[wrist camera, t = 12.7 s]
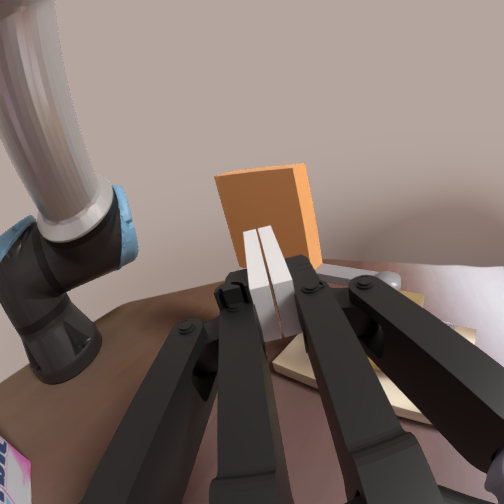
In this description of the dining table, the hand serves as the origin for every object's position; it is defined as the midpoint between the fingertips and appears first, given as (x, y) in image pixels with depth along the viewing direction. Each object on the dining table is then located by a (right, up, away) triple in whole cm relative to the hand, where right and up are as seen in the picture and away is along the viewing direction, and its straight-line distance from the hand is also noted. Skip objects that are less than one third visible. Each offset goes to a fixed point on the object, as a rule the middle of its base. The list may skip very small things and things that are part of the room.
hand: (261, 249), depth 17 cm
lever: (+5, -2, +10) cm, 12 cm away
